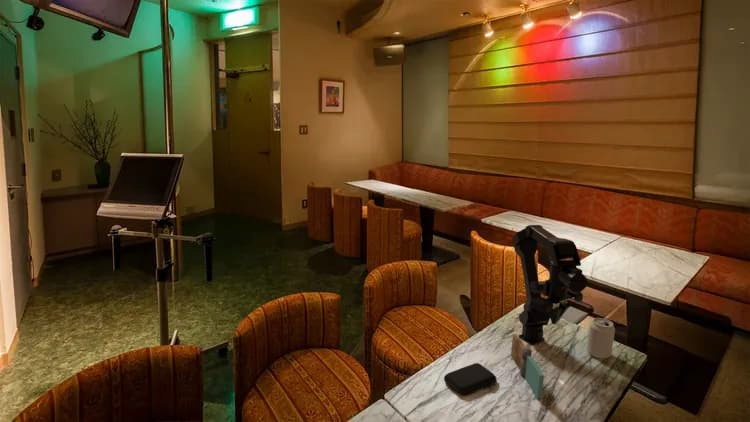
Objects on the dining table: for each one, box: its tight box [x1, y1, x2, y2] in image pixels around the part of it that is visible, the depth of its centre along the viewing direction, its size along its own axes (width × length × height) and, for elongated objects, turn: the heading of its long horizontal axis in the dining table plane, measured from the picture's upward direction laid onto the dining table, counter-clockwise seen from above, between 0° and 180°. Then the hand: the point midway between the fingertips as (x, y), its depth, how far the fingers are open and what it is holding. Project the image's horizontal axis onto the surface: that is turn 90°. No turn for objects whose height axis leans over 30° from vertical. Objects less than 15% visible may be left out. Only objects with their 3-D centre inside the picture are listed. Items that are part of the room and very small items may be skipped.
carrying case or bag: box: [443, 362, 498, 396], centre depth 134 cm, size 11×3×15 cm
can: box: [586, 317, 616, 360], centre depth 148 cm, size 8×8×12 cm
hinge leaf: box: [521, 355, 545, 400], centre depth 132 cm, size 13×3×8 cm, turn 2°
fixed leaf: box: [510, 333, 533, 378], centre depth 141 cm, size 12×3×9 cm, turn 3°
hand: (553, 323), depth 143 cm, fingers closed
